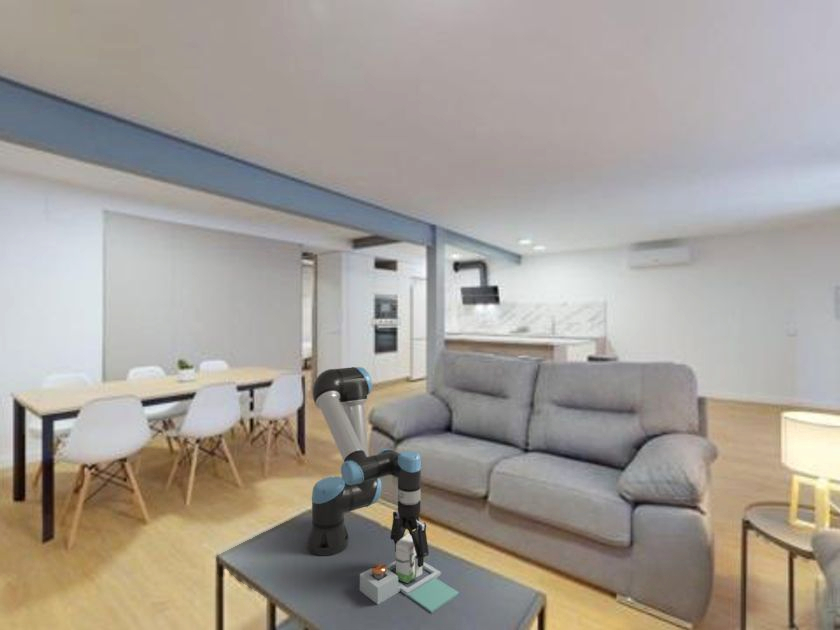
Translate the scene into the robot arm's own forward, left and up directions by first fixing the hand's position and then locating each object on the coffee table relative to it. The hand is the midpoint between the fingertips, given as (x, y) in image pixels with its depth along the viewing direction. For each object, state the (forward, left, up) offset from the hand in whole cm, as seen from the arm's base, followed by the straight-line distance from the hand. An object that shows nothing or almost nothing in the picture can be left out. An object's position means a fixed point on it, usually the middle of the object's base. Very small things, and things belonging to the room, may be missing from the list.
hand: (408, 568), depth 141 cm
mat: (+13, -1, -2) cm, 13 cm away
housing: (0, -4, -2) cm, 5 cm away
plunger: (0, -12, 0) cm, 13 cm away
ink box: (0, 0, -2) cm, 2 cm away
